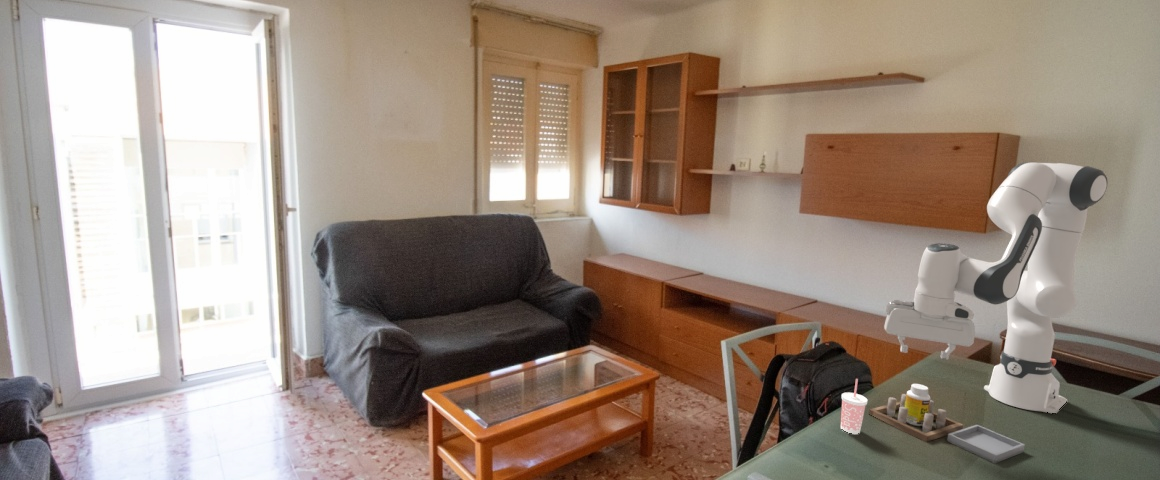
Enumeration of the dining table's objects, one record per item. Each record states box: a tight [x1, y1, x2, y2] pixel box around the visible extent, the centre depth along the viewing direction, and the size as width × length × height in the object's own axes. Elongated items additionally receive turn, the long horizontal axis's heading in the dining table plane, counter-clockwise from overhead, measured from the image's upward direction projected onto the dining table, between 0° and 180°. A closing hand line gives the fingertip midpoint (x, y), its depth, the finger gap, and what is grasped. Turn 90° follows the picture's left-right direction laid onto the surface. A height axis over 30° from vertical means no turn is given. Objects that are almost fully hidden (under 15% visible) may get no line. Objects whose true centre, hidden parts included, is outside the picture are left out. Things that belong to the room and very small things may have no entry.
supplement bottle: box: [905, 383, 931, 427], centre depth 152 cm, size 6×6×10 cm
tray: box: [946, 424, 1026, 464], centre depth 141 cm, size 13×11×2 cm
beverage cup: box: [840, 378, 869, 435], centre depth 146 cm, size 6×6×14 cm
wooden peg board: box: [868, 393, 964, 442], centre depth 152 cm, size 16×16×5 cm
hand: (923, 355), depth 150 cm, fingers open, 8 cm apart
